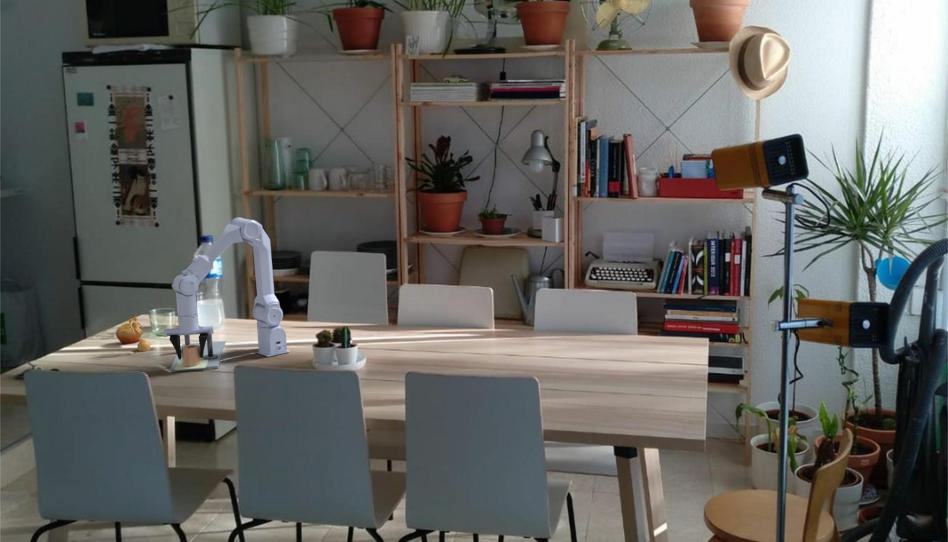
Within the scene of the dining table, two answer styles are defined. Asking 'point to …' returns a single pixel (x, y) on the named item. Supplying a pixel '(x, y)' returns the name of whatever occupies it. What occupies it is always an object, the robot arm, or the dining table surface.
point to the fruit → (127, 334)
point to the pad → (181, 367)
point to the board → (212, 363)
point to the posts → (209, 347)
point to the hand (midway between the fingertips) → (191, 358)
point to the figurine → (142, 344)
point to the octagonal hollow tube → (191, 355)
